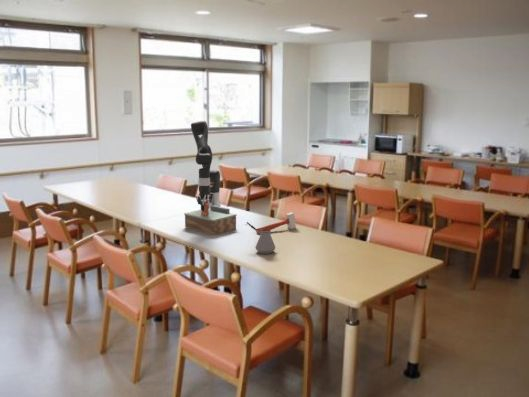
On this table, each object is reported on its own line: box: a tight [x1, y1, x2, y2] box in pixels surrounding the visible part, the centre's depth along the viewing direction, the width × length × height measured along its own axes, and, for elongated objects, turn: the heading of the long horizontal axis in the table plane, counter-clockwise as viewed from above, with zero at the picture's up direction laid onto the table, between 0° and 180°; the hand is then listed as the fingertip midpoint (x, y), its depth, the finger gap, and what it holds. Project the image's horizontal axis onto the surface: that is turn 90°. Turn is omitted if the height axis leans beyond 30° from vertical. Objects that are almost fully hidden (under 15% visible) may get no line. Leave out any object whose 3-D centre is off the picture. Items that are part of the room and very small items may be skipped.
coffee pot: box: [245, 221, 276, 255], centre depth 304 cm, size 21×12×15 cm, turn 46°
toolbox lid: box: [183, 205, 238, 221], centre depth 351 cm, size 21×28×4 cm
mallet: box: [255, 211, 297, 235], centre depth 348 cm, size 11×4×30 cm
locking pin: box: [200, 202, 209, 216], centre depth 347 cm, size 3×3×12 cm
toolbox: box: [184, 215, 237, 236], centre depth 352 cm, size 20×28×9 cm
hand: (204, 209), depth 347 cm, fingers closed on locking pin, 3 cm apart
